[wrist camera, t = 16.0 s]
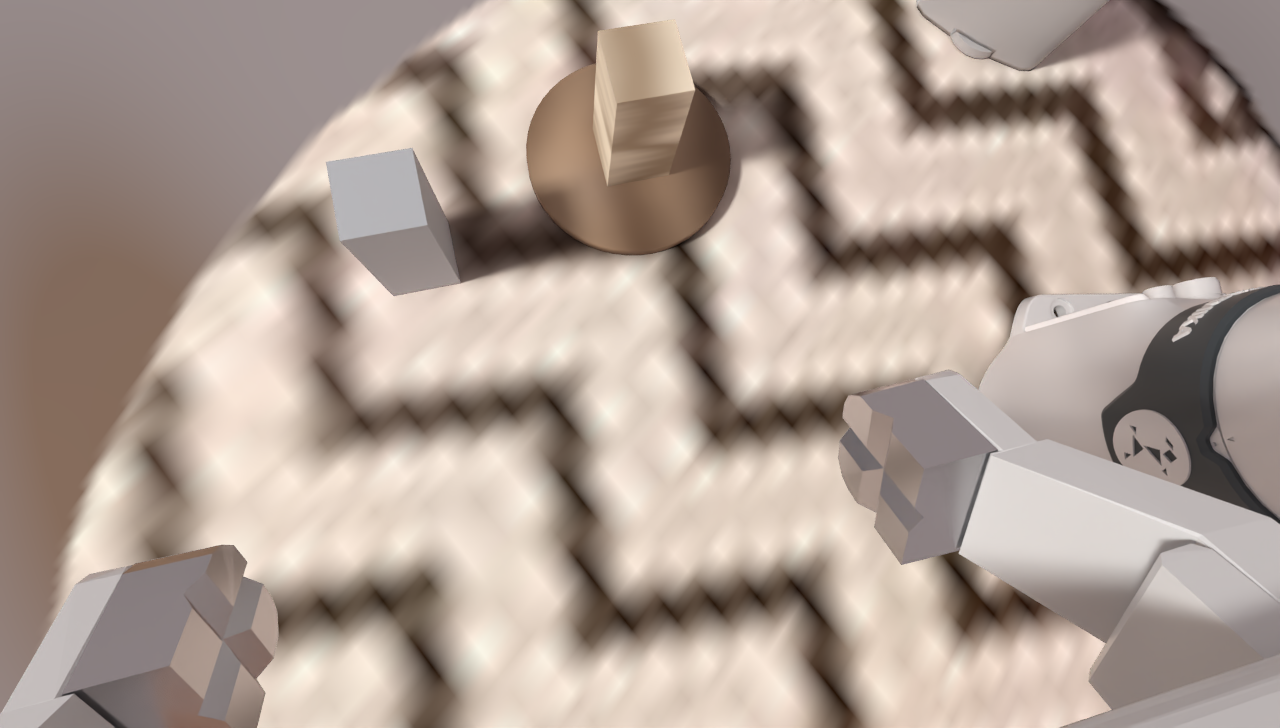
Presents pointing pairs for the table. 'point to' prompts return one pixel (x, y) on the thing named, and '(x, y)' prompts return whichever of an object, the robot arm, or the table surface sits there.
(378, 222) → the slate grey block
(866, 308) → the table surface
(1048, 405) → the robot arm
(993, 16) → the tall pale column
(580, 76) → the walnut board
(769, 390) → the table surface
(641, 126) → the birch block
